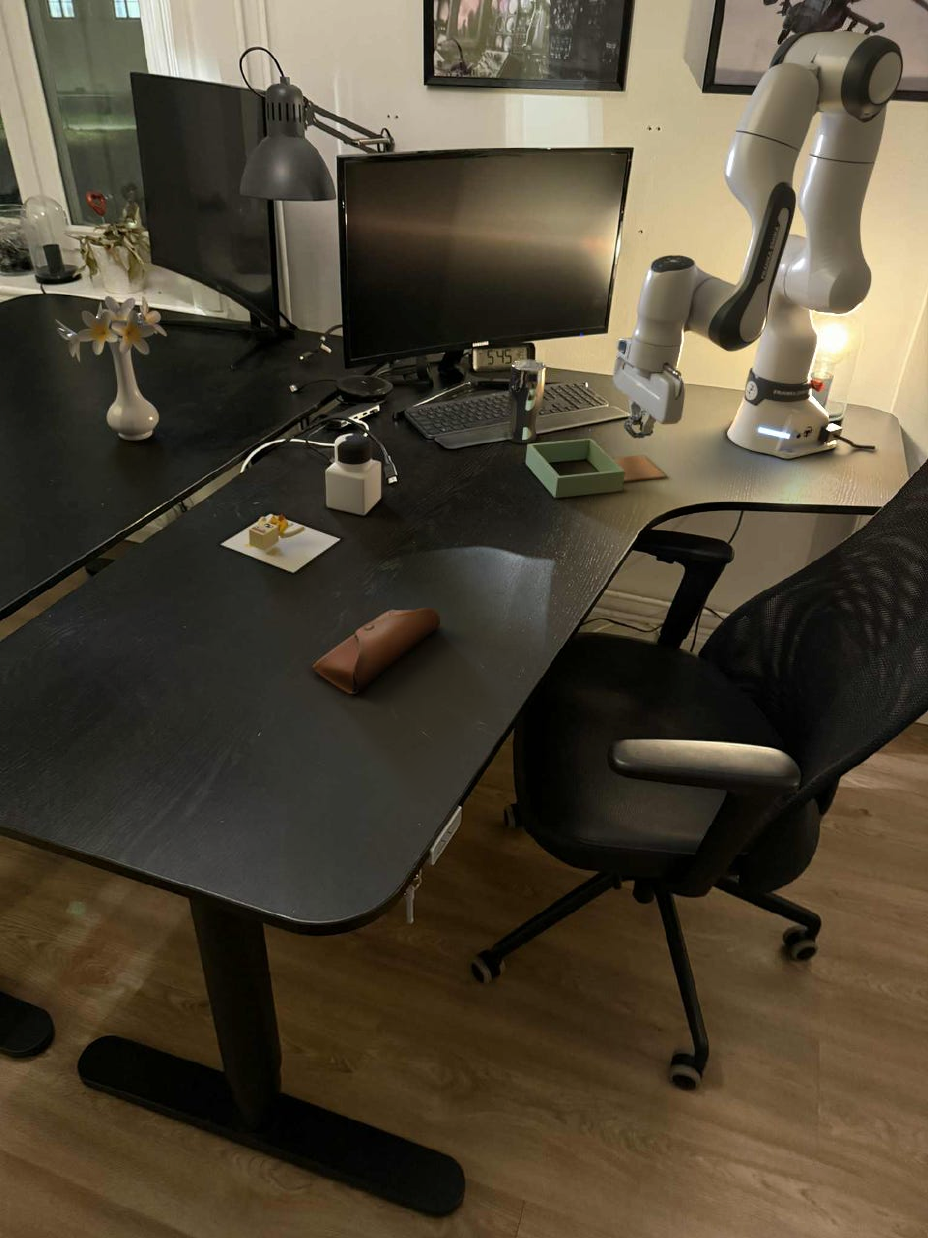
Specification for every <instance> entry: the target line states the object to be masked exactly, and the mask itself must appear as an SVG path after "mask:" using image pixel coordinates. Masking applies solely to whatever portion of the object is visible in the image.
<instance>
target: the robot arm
mask: <svg viewBox="0 0 928 1238" xmlns="http://www.w3.org/2000/svg"><path fill="white" fill-rule="evenodd" d="M903 71H904V59H903V55H902V49H901V47H900V45H899V44H898V43H897V42H896V41H894V40H892V39H890V38H888V37H885V36H882V35H879V34H873V35H870V34H866V33H862V32H856V31H849V30H839V31H818V32H817V31H815V30H806V31H800V32H797V33H795V34H794V33H793V34H792V35H789V36H788V37H787V38H786V39H785V40H784V41H783V42H782V43H781V44H780V45H779V47H778V48H777V50H776V51H775V53H774V55H773V57H772V59H771V61H770V64H769V67H768V69H767V70H766V72H765V73H764V74H763V75H762V77H761V78H760V80H759V82H758V84H757V85H756V87H755V89H754V91H753V92H752V94H751V96H750V98H749V99H748V102H747V104H746V106H745V107H744V110H743V112H742V115H741V117H740V119H739V121H738V124H737V126H736V129H735V132H734V133H733V136H732V139H731V140H730V141H731V142H730V143H729V146H728V149H727V152H726V154H725V160H724V165H723V175H724V180H725V182H726V185H727V187H728V190H729V191H730V193H731V194H732V196H734V198H735V199H736V200H737V201H738V202H739V203H740V204H741V205H742V206H743V208H744V209H745V210H746V212H747V213H748V216H749V218H750V220H751V227H752V228H751V230H752V231H751V238H750V242H749V245H748V249H747V250H746V251H747V252H746V255H745V259H744V262H743V266H742V270H741V272H740V276H739V280H738V282H737V283H736V284H734V283H731V282H729V281H726V280H723V279H722V278H719V277H717V276H715V275H711V274H710V273H707V272H706V271H704V270H702V269H701V268H700V267H698V266H697V265H696V262H695V260H694V259H692V258H691V257H688V256H685V255H679V254H677V255H673V254H670V255H663V256H660V257H658V258H656V259H654V260H653V261H651V263H650V265H649V267H648V268H647V271H646V273H645V275H644V278H643V282H642V284H641V289H640V292H639V293H640V294H639V299H638V302H637V310H636V312H637V322H636V325H635V327H634V329H633V332H632V335H631V337H622V338H618V339H617V341H616V350H617V353H616V355H615V360H614V365H613V372H612V381H613V386H614V387H615V388H617V389H618V390H619V391H620V392H621V393H622V394H624V395H625V396H626V397H627V398H628V399H629V401H628V407H629V412H630V415H629V417H633V416H634V415H636V414H637V413H639V412H641V411H642V410H643V411H646V412H645V415H643V416H642V417H640V418H639V419H638V420H637V421H635V422H633V424H632V426H639V429H638V430H639V431H640V432H642V433H643V434H650V433H651V431H652V430H653V428H652V427H653V424H654V425H655V423H656V422H658V423H659V424H660V425H663V426H667V425H677V424H678V423H680V421H681V420H682V418H683V412H684V406H685V399H686V398H685V397H686V385H685V382H684V380H683V377H682V373H681V371H680V370H678V367H679V362H680V358H681V353H682V349H683V344H684V341H685V340H684V339H685V338H684V337H685V336H684V334H685V333H686V332H691V333H692V334H695V335H697V336H699V337H701V338H704V339H706V340H708V341H710V342H711V343H713V344H714V345H716V346H717V347H719V348H721V349H723V350H724V351H726V352H730V353H734V352H738V351H740V350H743V349H745V348H747V347H749V346H750V345H752V344H753V343H755V342H756V341H757V340H758V343H757V348H756V352H755V356H754V361H753V364H752V367H751V368H749V372H748V374H747V378H746V381H745V385H744V386H745V388H744V395H743V397H742V400H741V403H740V406H739V408H738V410H737V413H736V415H735V417H734V419H733V421H732V422H731V425H730V427H729V428H728V430H727V433H726V434H727V437H728V439H729V440H730V441H731V442H733V443H734V444H736V445H738V446H740V447H742V448H744V449H747V450H750V451H754V452H758V453H762V454H768V455H772V456H775V457H779V458H781V459H786V460H788V459H789V460H790V459H794V458H797V457H803V456H806V455H810V454H811V455H812V454H815V453H819V452H823V451H828V450H831V449H835V448H836V446H837V441H841V442H844V443H845V444H847V445H850V447H852V448H854V449H861V450H875V449H876V446H875V445H868V444H867V445H865V444H857V443H854V442H853V441H851V440H850V439H848V438H846V437H844V436H842V435H841V434H842V431H843V427H841V426H839V425H838V424H836V423H835V424H834V423H830V417H829V413H828V412H827V411H826V410H825V409H824V408H823V407H822V406H821V404H819V402H818V401H817V400H816V398H814V397H813V396H812V390H814V391H816V392H817V393H820V392H822V390H824V388H825V382H823V381H821V380H819V379H817V378H816V379H813V378H812V377H811V376H810V375H811V374H812V369H813V365H814V362H815V359H816V355H817V353H818V349H819V345H820V336H819V334H818V331H817V329H816V327H815V325H814V323H813V318H812V312H811V311H813V312H815V313H818V314H821V315H822V314H823V315H830V316H839V317H840V316H841V317H842V316H846V315H849V314H851V313H852V312H854V311H856V310H857V309H858V308H859V307H860V306H861V305H862V304H863V302H864V301H865V299H866V298H867V296H868V295H869V292H870V289H871V286H872V271H871V267H870V266H869V264H868V263H867V260H866V258H865V254H864V252H863V246H862V245H863V244H862V238H861V237H862V236H861V222H862V221H861V220H862V212H863V206H864V203H865V198H866V194H867V191H868V187H869V184H870V182H871V181H870V180H871V176H872V175H873V170H874V167H875V165H876V161H877V157H878V153H879V150H880V146H881V142H882V140H883V139H882V138H883V133H884V129H885V123H886V116H887V106H888V104H889V102H890V101H891V99H892V98H893V96H894V95H895V93H896V91H897V90H898V88H899V85H900V83H901V81H902V77H903ZM818 113H820V121H819V124H818V126H817V128H816V131H815V134H814V138H813V140H812V144H811V147H810V151H809V155H808V157H807V160H806V161H807V162H806V165H805V169H804V173H803V176H802V179H801V180H802V181H801V182H800V183H801V184H800V187H799V190H798V194H797V193H796V192H795V190H794V187H793V184H794V174H795V169H796V165H797V161H798V159H799V157H800V155H801V152H802V149H803V147H804V144H805V142H806V139H807V136H808V134H809V130H810V128H811V124H812V121H813V118H814V116H815V115H816V114H818ZM796 194H797V195H796ZM796 205H797V206H798V210H799V212H800V213H801V215H802V217H803V220H804V224H805V232H806V237H805V236H803V235H799V234H795V233H794V234H793V233H790V232H791V228H792V224H793V220H794V217H795V212H796V207H797V206H796ZM644 416H645V418H644V420H643V417H644ZM642 420H643V421H642Z"/></svg>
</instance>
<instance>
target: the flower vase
mask: <svg viewBox="0 0 928 1238" xmlns="http://www.w3.org/2000/svg"><path fill="white" fill-rule="evenodd" d="M104 303H105V306H106V307H107V308H106V309H105V308H103V306H102V305H103V304H102V302H101V301H100V302H99V306H98V308H97V314H96V317H95V315H93V314H92V313H91V312H90V311H88V310H83V311H82V312H81V318H82V321H83V322H84V324H85V325H86V327H88V328H84V329H82V330H80V331H78V332H77V333H76V332H74V331H73V330H72V329H69V328H68V327H67V326H65V325H63V323H61V322H60V321H59V320H58V319H55V322H56V323H57V324H58V326H59V327H60V328H59V327H57V328H56V330H57V332H58V334H59V335H60V337H62V339H64V340H66V341H69V342H68V351H69V353H70V356H71V357H72V358H74V357H75V356H76V359H77V360H78V362H79V363H81V354H80V348H81V342H84V343H86V342H91V341H93V342H92V351H93V354H95V355H96V356H100V355H101V354H102V353H103V351H104V348H105V342H107V343H108V345H109V347H110V350H111V353H112V357H113V362H114V368H115V374H116V375H115V376H116V381H117V393H116V397H115V400H114V402H113V403H112V404H111V405H110V407H109V409H108V410H107V414H106V422H107V424H108V426H109V428H111V429H112V430H113V431H114V432H117V433H118V437H119V438H121V439H123V440H125V441H133V442H134V441H141V440H146V439H148V438H149V437H151V436H152V435H153V432H154V431H153V430H154V429H155V428H156V426H158V423H159V420H160V414H159V413H158V410H157V408H156V406H154V405H153V404H152V403H151V402H150V401H148V400H147V399H146V398H145V397H144V395H142V393H141V391H140V389H139V387H138V383H137V379H136V375H135V372H134V367H133V360H132V353H131V352H132V350H131V349H132V348H133V347H134V348H135V349H136V350H137V351H138V352H139V353H140V354H142V355H144V356H145V355H146V356H147V355H149V354H150V347H149V345H148V343H147V342H146V340H145V339H144V338H148V337H151V336H153V334H156V335H157V334H158V333H159V334H160V335H163V336H164V337H167V336H168V334H167V332H166V330H164V328H163V327H161V325H159V324H157V323H159V322H160V321H161V318H162V317H161V314H160V313H159V311H157V310H151V311H150V307H149V303H148V301H147V300H146V297H145V296H142V297H141V305H139V310H140V312H137V311H136V310H135V309H134V307H135V305H136V299H135V298H134V297H130V298H127V299H126V300H124V301H123V302H122V304H121V305H120V304H119V302H118V301H117V299H115V298H114V297H112V296H110V295H107V296H105V297H104ZM110 325H111V327H110Z"/></svg>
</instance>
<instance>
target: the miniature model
mask: <svg viewBox="0 0 928 1238" xmlns="http://www.w3.org/2000/svg"><path fill="white" fill-rule="evenodd" d="M340 540H341V538H338V537H336V536H333V535H331V534H328V533H324V532H321V531H319V530H316V529H313V528H311V527H307V526H305V525H302V524H299V523H297V522H294V521H291V520H288V519H286V517H285V516H284V515H283V514H281V513H280V515H279V514H277V515H275V514H273V513H269V514H268V515H266V516H261V517H260V518H259V519H258V521H256V522H254V523H253V524H251V525H249V526H248V527H247V528H245V529H243V530H241V531H240V532H239V533H237V534H235V535H233V536H232V537H230V538H229V539H227V540H225V541H223V542H222V543H220V545H221V546H223V547H225V548H229V549H231V550H234V551H236V552H239V553H242V554H243V555H246V556H250V557H252V558H254V559H256V560H260V561H261V562H265V563H267V564H270V565H272V566H275V567H276V568H277V567H278V568H279V569H283V570H286V571H287V572H291V573H295V572H297V571H298V570H299V569H301V568H302V567H304V566H305V565H306V564H307V563H309V562H310V561H312V560H314V558H315V559H316V558H317V556H319V555H320V554H322V553H323V552H325V551H327V549H329V548H331V547H332V546H333V545H334V544H337V542H339V541H340Z"/></svg>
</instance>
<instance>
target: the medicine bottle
mask: <svg viewBox="0 0 928 1238" xmlns="http://www.w3.org/2000/svg"><path fill="white" fill-rule="evenodd" d="M372 444H373V443H372V441H371V439H370V438H369V437H368V436H366V435H364V434H359V433H347V434H342V435H340V436H338V437H337V438H336V439H335V441H334V462H333V463H332V464H330V465H329V467H327V469H325V499H326V508H328V509H332V510H336V511H341V512H346V513H348V514H349V513H350V514H354V515H357V516H362V517H364V516H366V515H367V514H368V513H369V512H370V511H371V509H373V507H374V506H375V505H376V504H377V503H378V502H379V501H380V500H381V498H382V462H381V461H378V460H374V459H373V458H372V457H373V456H372V454H373V453H372V451H373V450H372Z"/></svg>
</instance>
